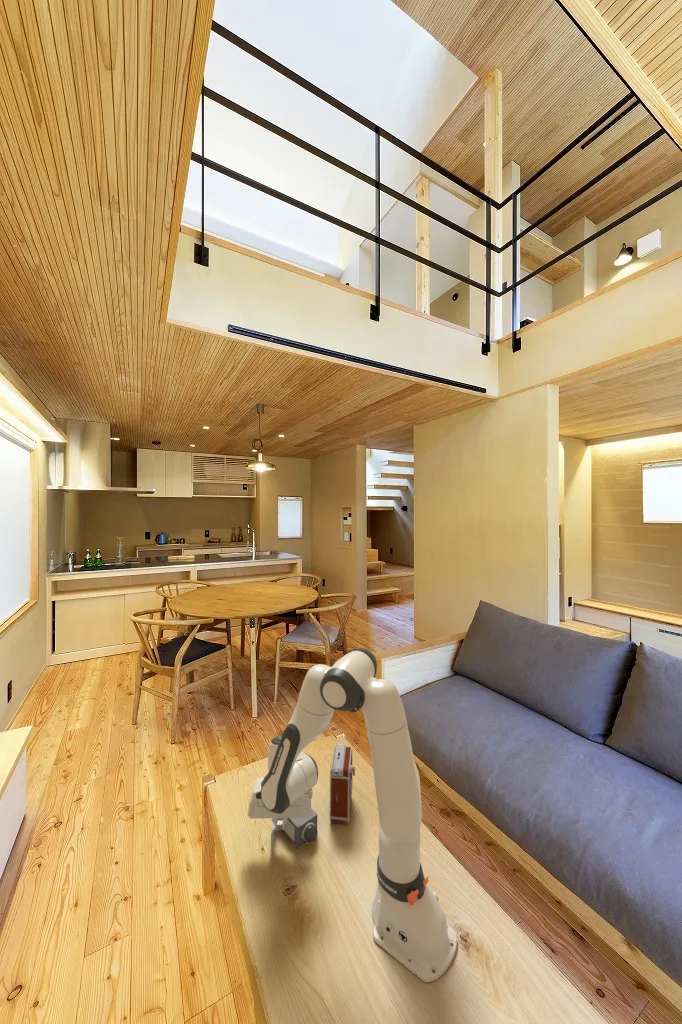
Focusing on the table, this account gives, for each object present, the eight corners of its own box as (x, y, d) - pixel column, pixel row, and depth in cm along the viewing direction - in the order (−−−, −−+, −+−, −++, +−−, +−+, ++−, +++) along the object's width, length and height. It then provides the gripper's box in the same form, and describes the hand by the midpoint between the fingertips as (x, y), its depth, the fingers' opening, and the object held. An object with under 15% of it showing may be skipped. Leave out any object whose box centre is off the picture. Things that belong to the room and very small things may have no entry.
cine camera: (355, 785, 148) (356, 736, 148) (352, 827, 129) (353, 770, 128) (332, 784, 149) (333, 734, 149) (326, 825, 130) (326, 768, 129)
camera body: (321, 839, 124) (321, 817, 124) (302, 854, 119) (302, 831, 118) (296, 813, 135) (296, 792, 135) (277, 825, 129) (277, 804, 129)
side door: (273, 853, 118) (273, 834, 118) (270, 853, 118) (270, 834, 118) (277, 824, 129) (278, 807, 129) (275, 825, 129) (275, 807, 129)
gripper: (313, 778, 125) (312, 819, 125) (251, 779, 124) (250, 820, 124) (312, 793, 118) (311, 836, 119) (247, 794, 117) (246, 837, 118)
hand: (279, 828), depth 121 cm, fingers closed
